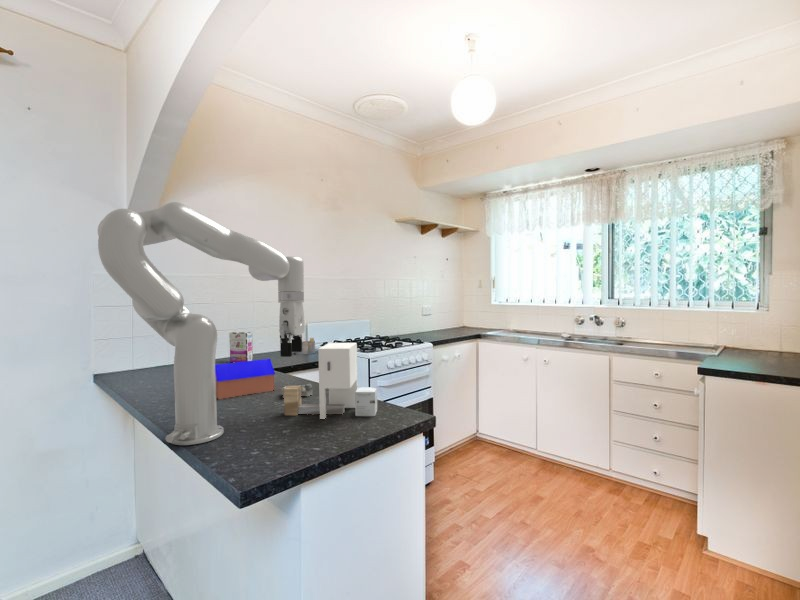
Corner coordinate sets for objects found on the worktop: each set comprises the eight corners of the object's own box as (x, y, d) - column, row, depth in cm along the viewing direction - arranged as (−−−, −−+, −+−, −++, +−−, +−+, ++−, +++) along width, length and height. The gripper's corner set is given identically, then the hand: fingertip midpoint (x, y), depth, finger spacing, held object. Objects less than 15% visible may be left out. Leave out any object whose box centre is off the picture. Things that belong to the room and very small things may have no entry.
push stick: (342, 415, 119) (341, 388, 119) (284, 415, 120) (283, 388, 120) (344, 411, 123) (344, 385, 123) (288, 411, 124) (288, 385, 124)
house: (211, 393, 149) (211, 362, 149) (266, 385, 160) (265, 356, 160) (218, 400, 139) (217, 367, 139) (275, 391, 150) (274, 360, 150)
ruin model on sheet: (313, 353, 247) (313, 337, 247) (315, 353, 244) (314, 337, 244) (295, 354, 242) (294, 338, 241) (296, 355, 239) (296, 339, 239)
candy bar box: (253, 361, 216) (252, 331, 216) (247, 363, 211) (246, 332, 211) (236, 361, 219) (235, 331, 219) (229, 362, 214) (228, 332, 214)
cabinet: (350, 420, 115) (348, 348, 114) (319, 420, 115) (317, 349, 115) (358, 406, 128) (356, 342, 128) (330, 406, 129) (328, 342, 128)
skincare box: (355, 416, 118) (354, 391, 118) (358, 410, 124) (357, 386, 124) (375, 416, 118) (375, 391, 118) (377, 410, 124) (377, 386, 124)
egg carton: (281, 400, 138) (281, 388, 138) (282, 395, 145) (281, 383, 145) (313, 397, 141) (312, 386, 141) (312, 392, 148) (311, 381, 148)
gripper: (294, 297, 113) (294, 358, 113) (311, 297, 130) (311, 350, 130) (267, 298, 113) (268, 358, 113) (288, 297, 130) (289, 350, 131)
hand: (291, 354), depth 122 cm, fingers open, 9 cm apart
